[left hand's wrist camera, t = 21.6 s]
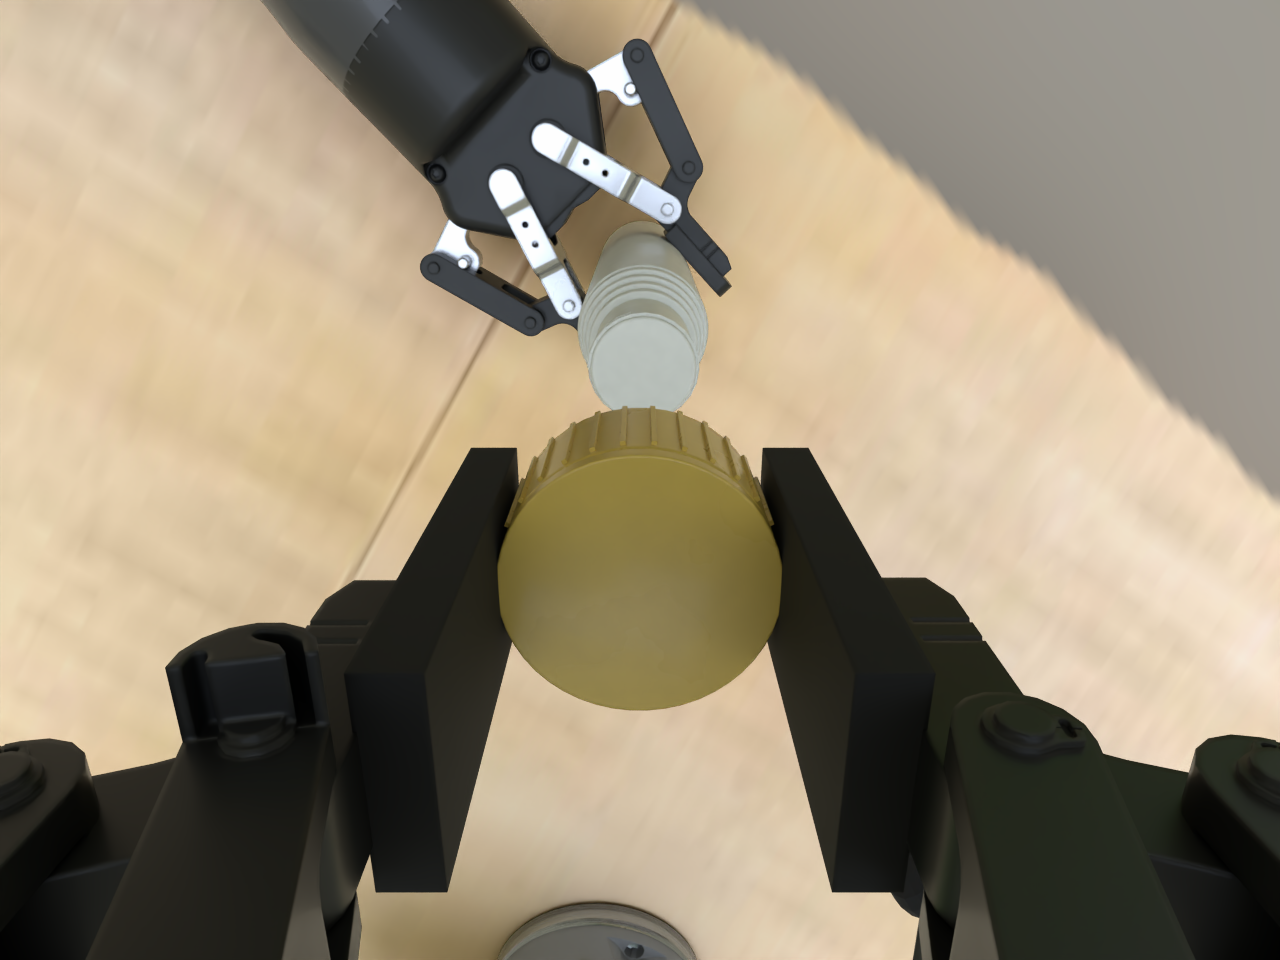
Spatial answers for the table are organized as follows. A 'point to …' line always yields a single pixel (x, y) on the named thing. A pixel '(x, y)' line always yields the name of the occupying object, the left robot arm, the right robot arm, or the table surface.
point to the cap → (639, 561)
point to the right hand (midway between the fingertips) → (682, 325)
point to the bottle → (642, 322)
